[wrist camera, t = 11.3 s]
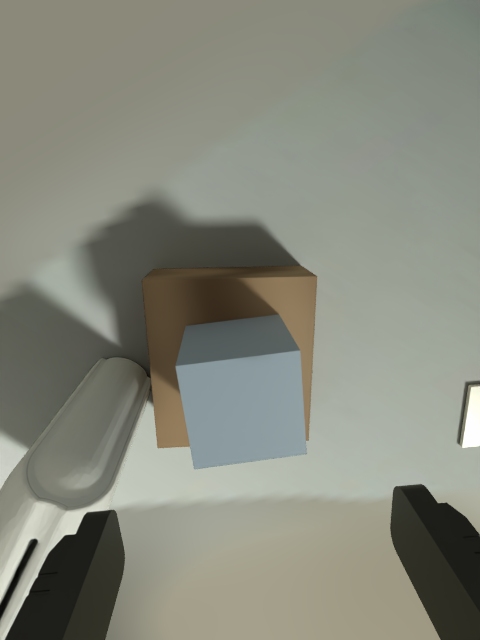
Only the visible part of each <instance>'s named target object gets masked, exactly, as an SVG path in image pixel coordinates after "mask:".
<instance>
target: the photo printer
mask: <svg viewBox="0 0 480 640" xmlns="http://www.w3.org/2000/svg"><path fill="white" fill-rule="evenodd" d="M150 389H151V378H148V377H147V374H146V372H145V371H144V369H143V368H142V367H141V366H140V365H138V364H137V363H135V362H133V361H131V360H129V359H126V358H120V357H114V358H109V359H107V360H106V359H104V358H101V359H100V360H99V361H98V362H97V363H96V364H95V365H94V366H93V367H92V368H91V370H90V371H89V372H88V374H87V375H86V376H85V377H84V379H83V380H82V381H81V383H80V384H79V385H78V387H77V388H76V389H75V391H74V392H73V393H72V394H71V396H70V397H69V398H68V400H67V401H66V402H65V404H64V405H63V406H62V408H61V409H60V410H59V411H58V413H57V414H56V415H55V417H54V418H53V419H52V421H51V422H50V423H49V424H48V426H47V427H46V428H45V430H44V431H43V432H42V434H41V435H40V436H39V437H38V439H37V440H36V441H35V443H34V444H33V445H32V446H31V448H30V449H29V450H28V452H27V453H26V454H25V455H24V457H23V458H22V459H21V461H20V462H19V463H18V464H17V466H16V467H15V468H14V470H13V471H12V472H11V473H10V475H9V476H8V478H7V480H6V481H5V483H4V485H3V486H2V488H1V490H0V640H5V638H6V636H7V634H8V632H9V630H10V628H11V626H12V624H13V622H14V620H15V618H16V616H17V614H18V612H19V610H20V608H21V606H22V604H23V602H24V600H25V598H26V596H28V595H29V591H30V589H31V587H32V585H33V583H34V581H35V579H36V578H37V577H38V573H39V571H40V569H41V567H42V565H43V563H44V561H45V559H46V557H47V555H48V553H49V552H50V551H51V550H52V549H53V548H54V547H55V546H56V544H57V543H58V542H59V541H60V540H61V539H62V538H63V537H64V536H65V535H73V534H76V532H77V530H78V527H79V525H80V523H81V521H82V519H83V517H84V515H85V514H86V513H87V512H94V511H106V510H108V509H109V506H110V503H111V500H112V498H113V495H114V492H115V489H116V487H117V484H118V481H119V478H120V476H121V473H122V470H123V467H124V465H125V462H126V459H127V456H128V454H129V451H130V448H131V445H132V443H133V440H134V437H135V434H136V432H137V429H138V426H139V423H140V420H141V417H142V415H143V412H144V409H145V406H146V403H147V400H148V397H149V393H150Z"/></svg>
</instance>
